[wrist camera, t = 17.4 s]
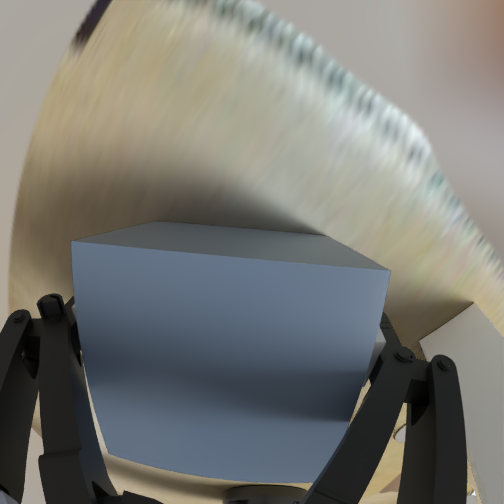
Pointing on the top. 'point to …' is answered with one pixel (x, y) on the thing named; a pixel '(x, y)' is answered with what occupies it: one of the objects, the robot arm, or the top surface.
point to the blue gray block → (225, 346)
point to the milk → (477, 392)
